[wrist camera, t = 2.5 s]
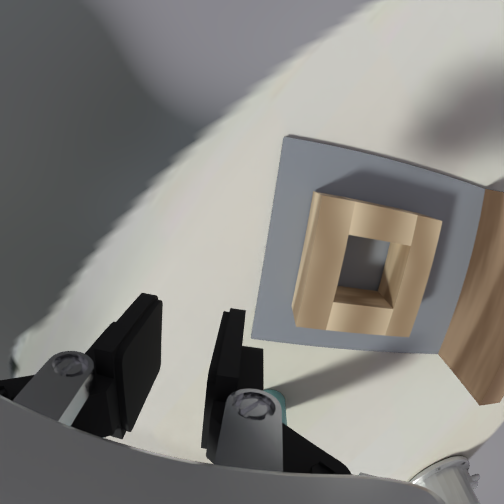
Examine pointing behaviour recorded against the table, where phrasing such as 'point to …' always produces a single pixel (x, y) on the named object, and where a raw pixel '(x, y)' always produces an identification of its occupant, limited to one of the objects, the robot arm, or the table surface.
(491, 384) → the walnut wall
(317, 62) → the table surface
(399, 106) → the table surface
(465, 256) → the slate base
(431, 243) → the oak block
